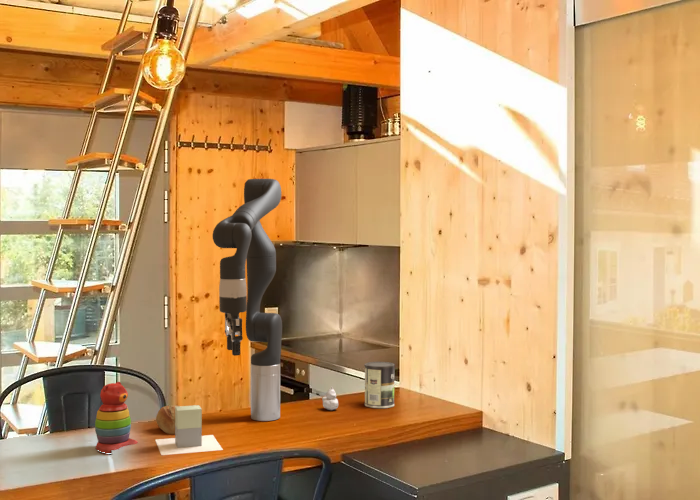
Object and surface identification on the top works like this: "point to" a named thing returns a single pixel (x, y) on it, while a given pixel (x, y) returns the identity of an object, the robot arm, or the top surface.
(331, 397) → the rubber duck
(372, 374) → the coffee can
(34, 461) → the top surface
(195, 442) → the slate brick
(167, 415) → the bread roll
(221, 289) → the robot arm
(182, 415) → the sage brick
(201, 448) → the baseplate
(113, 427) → the stacking bear
